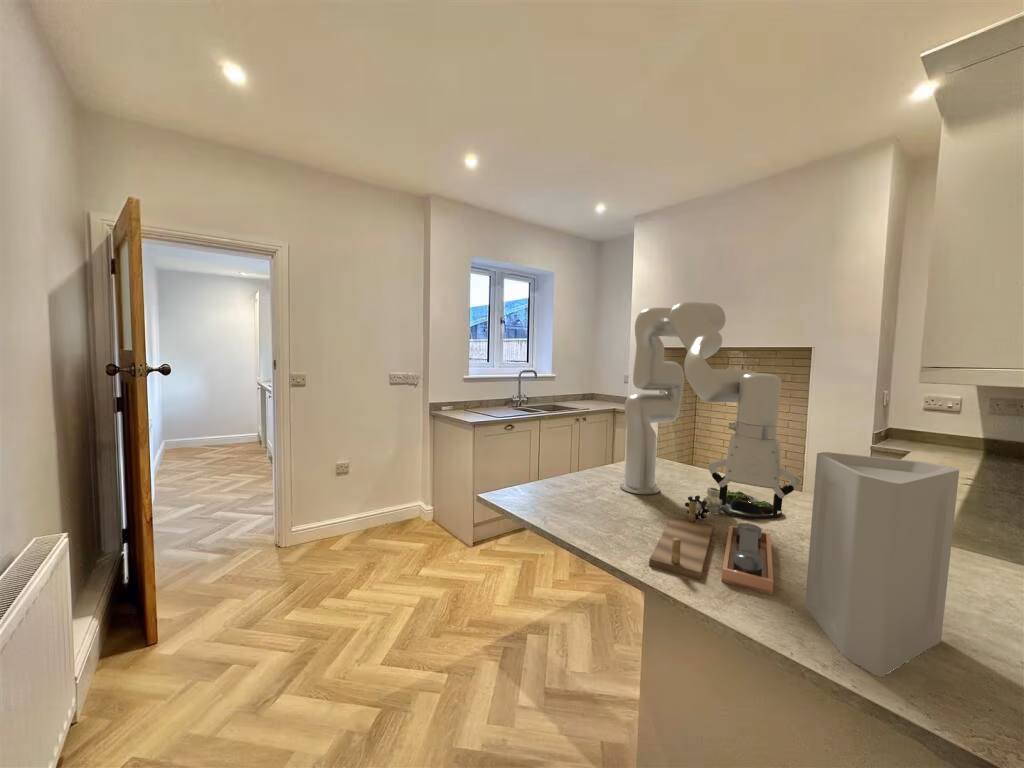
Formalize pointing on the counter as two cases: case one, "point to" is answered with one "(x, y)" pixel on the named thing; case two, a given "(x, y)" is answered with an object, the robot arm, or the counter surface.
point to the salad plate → (748, 506)
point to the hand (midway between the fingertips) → (748, 508)
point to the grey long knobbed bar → (748, 549)
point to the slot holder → (746, 579)
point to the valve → (707, 503)
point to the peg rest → (683, 545)
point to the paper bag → (880, 556)
